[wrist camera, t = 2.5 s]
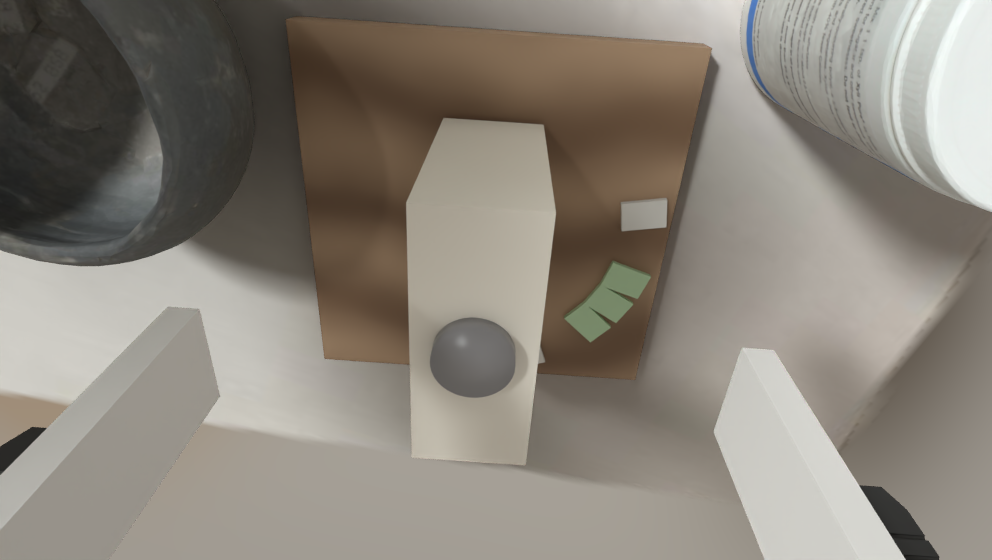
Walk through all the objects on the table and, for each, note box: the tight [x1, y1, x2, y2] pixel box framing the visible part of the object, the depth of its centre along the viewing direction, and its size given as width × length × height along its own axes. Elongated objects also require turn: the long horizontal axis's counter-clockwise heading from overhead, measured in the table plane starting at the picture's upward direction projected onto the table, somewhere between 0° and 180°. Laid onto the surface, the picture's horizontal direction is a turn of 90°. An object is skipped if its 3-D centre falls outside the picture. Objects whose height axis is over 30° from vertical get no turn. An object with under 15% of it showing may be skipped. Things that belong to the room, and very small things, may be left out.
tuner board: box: [285, 16, 712, 380], centre depth 32 cm, size 20×20×2 cm
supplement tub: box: [740, 0, 992, 212], centre depth 21 cm, size 10×10×15 cm
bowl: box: [0, 0, 254, 266], centre depth 25 cm, size 15×15×10 cm
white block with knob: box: [406, 118, 556, 466], centre depth 28 cm, size 16×5×12 cm, turn 177°
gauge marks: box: [538, 198, 667, 364], centre depth 34 cm, size 12×10×1 cm
